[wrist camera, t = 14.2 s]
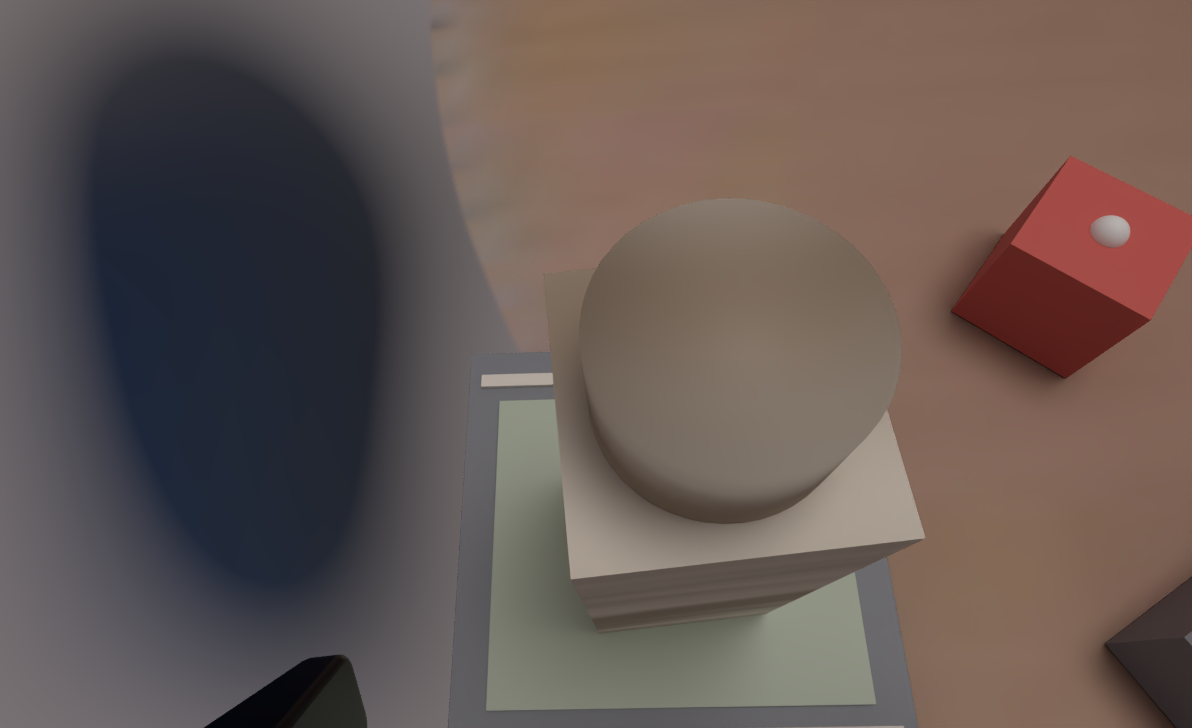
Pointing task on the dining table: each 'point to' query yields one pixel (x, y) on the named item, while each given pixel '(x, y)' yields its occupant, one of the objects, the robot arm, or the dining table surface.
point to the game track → (641, 656)
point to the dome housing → (1162, 653)
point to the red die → (1078, 268)
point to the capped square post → (725, 416)
